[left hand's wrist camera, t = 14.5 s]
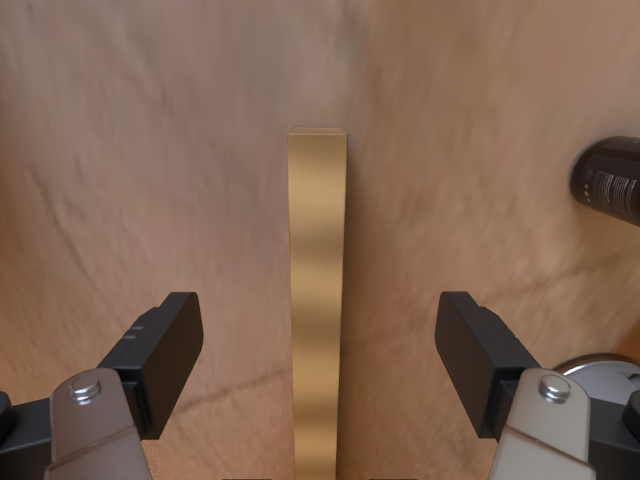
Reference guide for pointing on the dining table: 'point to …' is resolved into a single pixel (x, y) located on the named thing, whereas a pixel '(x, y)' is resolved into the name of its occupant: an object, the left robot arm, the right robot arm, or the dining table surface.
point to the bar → (316, 292)
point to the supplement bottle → (610, 178)
